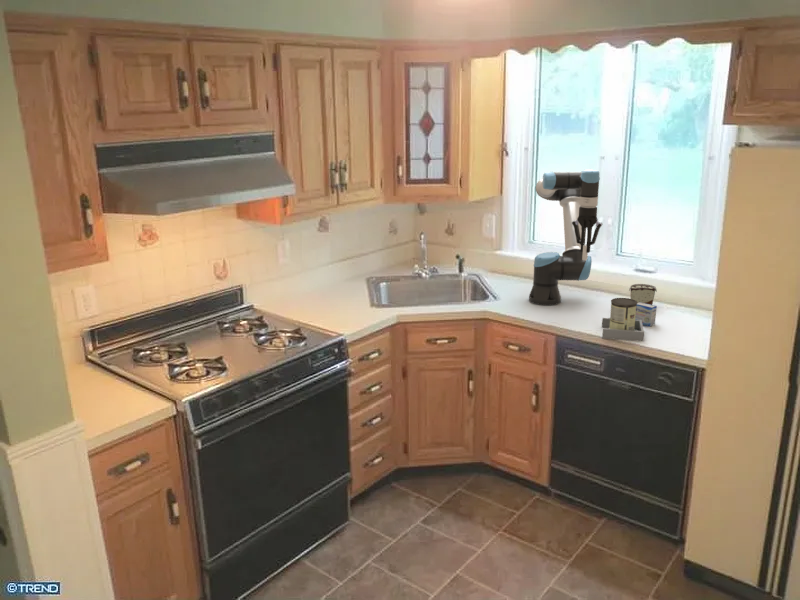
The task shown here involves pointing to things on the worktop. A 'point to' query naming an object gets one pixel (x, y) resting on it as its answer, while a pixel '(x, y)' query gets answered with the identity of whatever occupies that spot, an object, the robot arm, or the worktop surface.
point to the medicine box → (646, 313)
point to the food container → (643, 293)
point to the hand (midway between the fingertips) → (584, 259)
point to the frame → (623, 331)
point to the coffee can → (623, 314)
